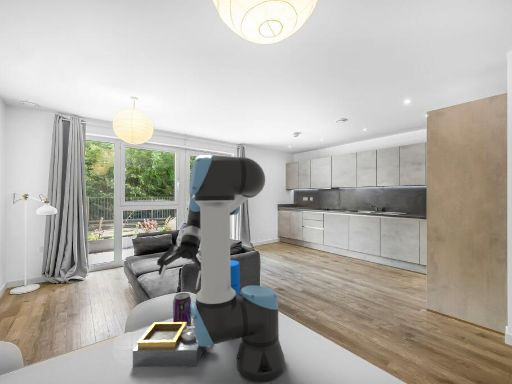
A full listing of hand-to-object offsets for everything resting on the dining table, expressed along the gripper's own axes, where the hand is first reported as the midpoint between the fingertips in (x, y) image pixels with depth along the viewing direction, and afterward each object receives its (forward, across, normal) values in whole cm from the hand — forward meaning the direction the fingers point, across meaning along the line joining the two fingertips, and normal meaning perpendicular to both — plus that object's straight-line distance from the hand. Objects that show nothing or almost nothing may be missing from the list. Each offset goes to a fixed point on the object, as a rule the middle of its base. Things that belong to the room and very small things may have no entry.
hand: (178, 285), depth 90 cm
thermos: (+6, -22, -16) cm, 28 cm away
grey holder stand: (+19, -6, -8) cm, 21 cm away
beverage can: (+7, -4, -21) cm, 22 cm away
